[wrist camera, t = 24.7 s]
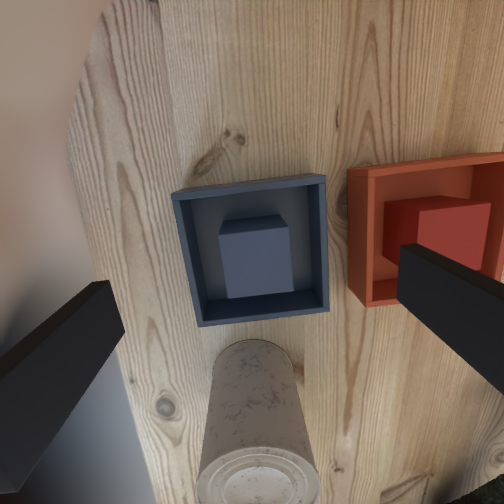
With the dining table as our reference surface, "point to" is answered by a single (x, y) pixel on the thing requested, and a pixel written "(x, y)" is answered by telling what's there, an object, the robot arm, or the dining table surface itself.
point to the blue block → (256, 256)
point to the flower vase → (485, 493)
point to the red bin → (407, 187)
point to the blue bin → (247, 206)
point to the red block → (437, 227)
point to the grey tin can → (255, 432)
